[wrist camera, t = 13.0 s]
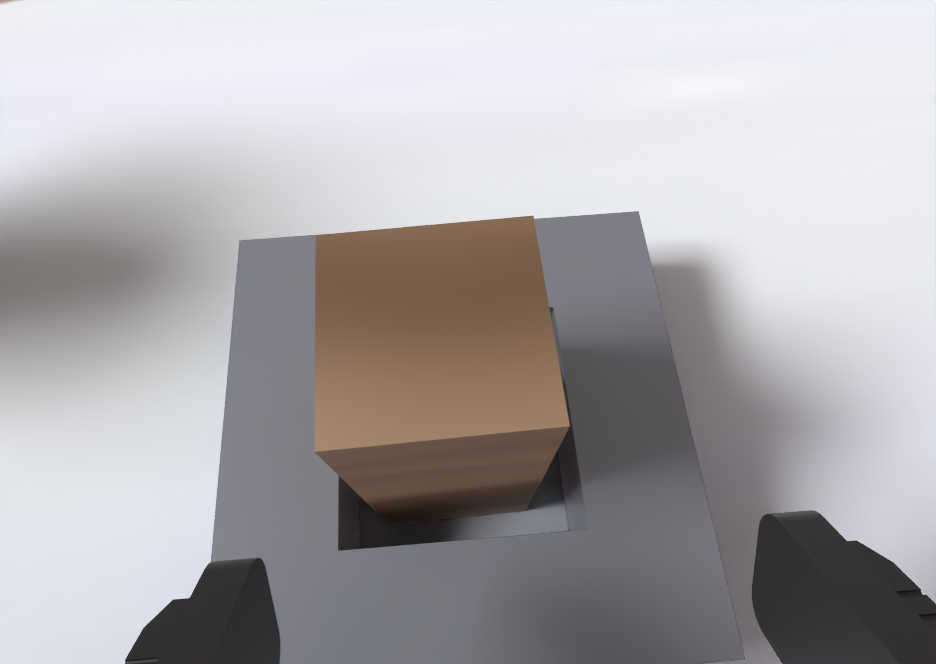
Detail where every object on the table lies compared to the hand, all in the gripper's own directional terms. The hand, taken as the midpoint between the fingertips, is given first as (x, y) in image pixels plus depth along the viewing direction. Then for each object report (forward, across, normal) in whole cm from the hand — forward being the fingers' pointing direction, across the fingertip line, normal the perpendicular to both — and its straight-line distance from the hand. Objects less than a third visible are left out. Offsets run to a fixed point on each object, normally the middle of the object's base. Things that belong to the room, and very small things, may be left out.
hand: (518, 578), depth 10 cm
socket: (+8, -1, -2) cm, 9 cm away
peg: (+8, -1, -2) cm, 9 cm away
